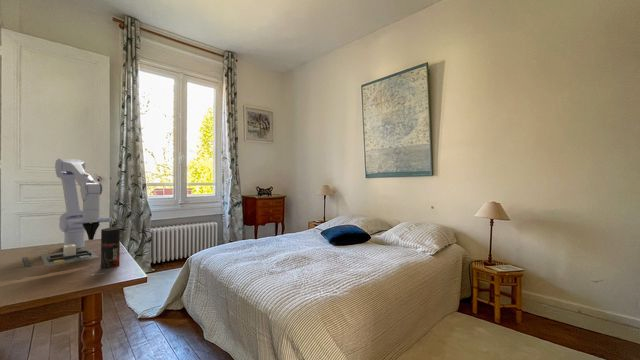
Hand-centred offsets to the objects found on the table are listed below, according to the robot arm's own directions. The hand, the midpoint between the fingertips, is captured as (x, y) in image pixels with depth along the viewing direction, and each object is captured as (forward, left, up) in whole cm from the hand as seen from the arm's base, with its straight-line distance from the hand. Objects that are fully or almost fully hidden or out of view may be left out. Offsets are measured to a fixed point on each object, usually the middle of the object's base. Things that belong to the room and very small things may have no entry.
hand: (90, 239), depth 122 cm
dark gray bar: (-2, -20, -7) cm, 21 cm away
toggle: (0, -7, -6) cm, 9 cm away
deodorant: (+23, +2, -7) cm, 24 cm away
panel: (0, -7, -7) cm, 10 cm away
